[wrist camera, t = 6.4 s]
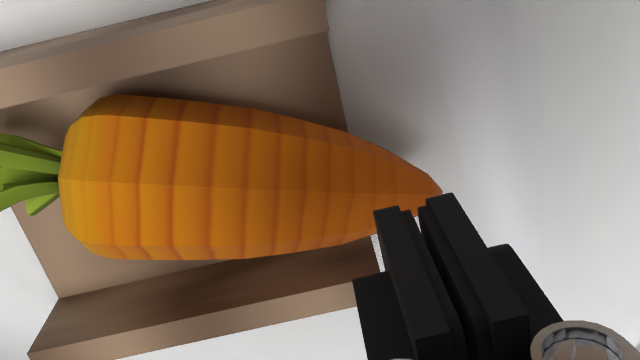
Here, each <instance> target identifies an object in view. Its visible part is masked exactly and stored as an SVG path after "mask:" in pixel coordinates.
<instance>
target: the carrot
mask: <svg viewBox="0 0 640 360" xmlns="http://www.w3.org/2000/svg"><path fill="white" fill-rule="evenodd" d="M0 166H2V167H0V212H1V211H2V210H4V209H6V208H8V207H10V206H12V205H14V204H16V203H18V202H20V201H23V200H26V210H27V212H28V215H29V216H34V215H36V214H38V213H39V212H41V211H42V210H43V209H44V208H46V207H47V206H48V205H50V204H51V203H52V202H54V201H55V200H56V199H57V198H59V197H60V202H61V211H62V218H63V221H64V224H65V227H66V229H67V230H68V231H69V232H70V233H71V234H72V235H73V236H74V237H75V238H76V239H77V240H78V241H79V242H80V243H82V244H83V245H84V246H85V247H86V248H87V249H88V250H90V251H91V252H92V253H93V254H96V255H99V256H103V257H106V258H112V259H125V260H212V259H248V258H255V257H263V256H271V255H279V254H287V253H295V252H301V251H307V250H313V249H319V248H325V247H331V246H337V245H342V244H345V243H348V242H351V241H354V240H357V239H360V238H364V237H367V236H370V235H373V234H376V233H377V230H376V225H375V220H374V215H373V211H374V210H378V209H383V208H387V207H391V206H396V205H398V206H399V208H400V210H401V211H404V210H408V209H410V210H411V213H412V215H413V217H416V216H418V211H417V208H418V207H421V206H426V203H425V200H426V198H430V197H434V196H438V195H443V192H442V189H441V188H440V187H439V186H438V185H437V184H436V183H435V182H434V180H433V179H432V178H431V177H430V176H429V175H428V174H427V173H425V172H423V171H422V170H420V169H418V168H417V167H415V166H413V165H412V164H410V163H408V162H407V161H405V160H403V159H402V158H400V157H398V156H396V155H395V154H393V153H391V152H390V151H388V150H386V149H383V148H381V147H379V146H377V145H374V144H372V143H370V142H368V141H365V140H363V139H361V138H359V137H356V136H354V135H352V134H350V133H347V132H344V131H340V130H337V129H333V128H329V127H326V126H322V125H319V124H315V123H311V122H308V121H304V120H301V119H296V118H292V117H288V116H283V115H279V114H275V113H271V112H266V111H262V110H258V109H254V108H246V107H238V106H230V105H222V104H214V103H206V102H198V101H190V100H179V99H168V98H158V97H147V96H136V95H111V96H106V97H102V98H99V99H97V100H96V101H95V102H94V103H93V104H92V105H90V106H89V107H88V108H87V109H86V110H85V111H84V112H83V113H82V114H81V115H80V116H79V117H78V118H77V119H76V121H75V122H74V123H73V124H72V125H71V126H70V128H69V130H68V132H67V134H66V135H65V141H64V146H63V151H61V150H57V149H54V148H50V147H48V146H45V145H42V144H40V143H37V142H34V141H31V140H28V139H26V138H23V137H20V136H16V135H10V134H4V133H0Z"/></svg>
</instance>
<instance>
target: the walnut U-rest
mask: <svg viewBox="0 0 640 360" xmlns="http://www.w3.org/2000/svg"><path fill="white" fill-rule="evenodd" d="M328 30H329V26H328V21H327V16H326V12H325V7H324V2H323V0H213V1H209V2H205V3H200V4H196V5H192V6H188V7H184V8H180V9H176V10H172V11H167V12H163V13H159V14H155V15H151V16H147V17H143V18H139V19H134V20H130V21H126V22H122V23H118V24H114V25H110V26H106V27H101V28H97V29H93V30H89V31H85V32H81V33H77V34H73V35H68V36H64V37H60V38H56V39H52V40H48V41H44V42H40V43H36V44H31V45H27V46H23V47H19V48H15V49H11V50H7V51H3V52H0V133H4V134H10V135H16V136H20V137H23V138H26V139H28V140H31V141H34V142H37V143H40V144H42V145H45V146H48V147H50V148H54V149H57V150H61V151H63V146H64V141H65V135H66V134H67V132H68V130H69V128H70V126H71V125H72V124H73V123H74V122H75V121H76V119H77V118H78V117H79V116H80V115H81V114H82V113H83V112H84V111H85V110H86V109H87V108H88V107H89V106H90V105H92V104H93V103H94V102H95V101H96V100H97V99H99V98H102V97H106V96H111V95H136V96H147V97H158V98H168V99H179V100H190V101H198V102H206V103H214V104H222V105H230V106H238V107H246V108H254V109H258V110H262V111H266V112H271V113H275V114H279V115H283V116H288V117H292V118H296V119H301V120H304V121H308V122H311V123H315V124H319V125H322V126H326V127H329V128H333V129H337V130H340V131H344V132H347V127H346V123H345V118H344V113H343V109H342V104H341V99H340V95H339V90H338V85H337V81H336V76H335V71H334V67H333V62H332V57H331V53H330V48H329V43H328V39H327V34H326V31H328ZM347 133H348V132H347ZM0 167H2V166H0ZM11 208H12V210H13V212H14V214H15V216H16V218H17V219H18V221H19V223H20V225H21V227H22V229H23V231H24V233H25V235H26V237H27V238H28V240H29V242H30V244H31V246H32V248H33V250H34V252H35V254H36V256H37V258H38V259H39V261H40V263H41V265H42V267H43V269H44V271H45V273H46V275H47V277H48V278H49V280H50V282H51V284H52V286H53V288H54V290H55V292H56V294H57V296H58V298H59V299H58V301H57V303H56V304H55V306H54V308H53V310H52V311H51V313H50V315H49V317H48V318H47V320H46V322H45V324H44V325H43V327H42V329H41V330H40V332H39V334H38V336H37V337H36V339H35V341H34V343H33V344H32V346H31V348H30V349H29V351H28V353H27V355H28V357H29V358H30V360H115V359H119V358H124V357H128V356H133V355H138V354H142V353H147V352H151V351H156V350H160V349H165V348H169V347H174V346H178V345H183V344H188V343H192V342H197V341H201V340H206V339H210V338H215V337H219V336H224V335H228V334H233V333H237V332H242V331H247V330H251V329H256V328H260V327H265V326H269V325H274V324H278V323H283V322H287V321H292V320H297V319H301V318H306V317H310V316H315V315H319V314H324V313H328V312H333V311H337V310H342V309H346V308H351V307H356V306H357V303H356V298H355V293H354V288H353V283H352V279H354V278H358V277H363V276H367V275H371V274H376V273H380V269H379V265H378V262H377V258H376V255H375V251H374V248H373V244H372V240H371V237H370V236H367V237H364V238H360V239H357V240H354V241H351V242H348V243H345V244H342V245H337V246H331V247H325V248H319V249H313V250H307V251H301V252H295V253H287V254H279V255H271V256H263V257H255V258H248V259H212V260H125V259H112V258H106V257H103V256H99V255H96V254H93V253H92V252H91V251H90V250H88V249H87V248H86V247H85V246H84V245H83V244H82V243H80V242H79V241H78V240H77V239H76V238H75V237H74V236H73V235H72V234H71V233H70V232H69V231H68V230H67V229H66V227H65V224H64V221H63V218H62V211H61V202H60V197H59V198H57V199H56V200H55V201H54V202H52V203H51V204H50V205H48V206H47V207H46V208H44V209H43V210H42V211H41V212H39V213H38V214H36V215H34V216H29V215H28V212H27V210H26V200H23V201H20V202H18V203H16V204H14V205H12V206H11Z"/></svg>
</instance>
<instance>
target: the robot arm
mask: <svg viewBox="0 0 640 360" xmlns="http://www.w3.org/2000/svg"><path fill="white" fill-rule="evenodd" d="M425 203H426V206H421V207H418V208H417V211H418V218H419V223H420V229H421V233H420V230H419V228H418V226H417V224H416V221H415V219H414V217H413V215H412V213H411V210H410V209H408V210H404V211H401V210H400V208H399V206H398V205H396V206H391V207H387V208H383V209H378V210H374V211H373V215H374V220H375V225H376V230H377V234H378V239H379V244H380V248H381V253H382V258H383V262H384V267H385V271H384V272H380V273H376V274H371V275H367V276H363V277H358V278H354V279H352V283H353V288H354V293H355V298H356V303H357V308H358V313H359V318H360V323H361V328H362V333H363V338H364V343H365V348H366V353H367V358H368V360H640V352H639V351H638V350H637V349H636V348H635V347H633V346H632V345H631V344H630V343H629V342H628V341H627V340H626V339H625V338H624V337H622V336H621V335H619V334H618V333H616V332H615V331H614V330H612V329H610V328H607V327H605V326H602V325H600V324H597V323H592V322H587V321H563V319H562V318H561V317H560V315H559V314H558V312H557V311H556V309H555V308H554V307H553V305H552V304H551V302H550V301H549V300H548V298H547V297H546V295H545V294H544V292H543V291H542V290H541V288H540V287H539V285H538V284H537V283H536V281H535V280H534V278H533V277H532V275H531V274H530V273H529V271H528V270H527V268H526V267H525V266H524V264H523V263H522V261H521V260H520V258H519V257H518V256H517V254H516V253H515V251H514V250H513V249H512V247H511V246H510V245H509V244H502V245H498V246H493V247H489V248H487V247H486V245H485V243H484V242H483V240H482V239H481V237H480V236H479V234H478V232H477V231H476V229H475V228H474V226H473V224H472V223H471V221H470V220H469V218H468V216H467V215H466V213H465V212H464V210H463V209H462V207H461V205H460V204H459V202H458V201H457V199H456V197H455V196H454V194H453V193H447V194H443V195H438V196H434V197H430V198H426V200H425Z"/></svg>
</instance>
